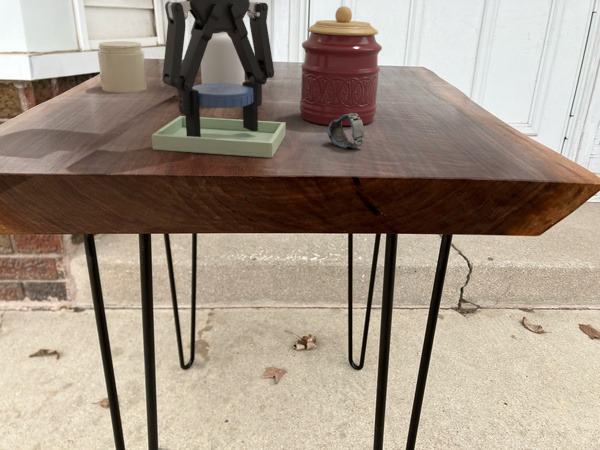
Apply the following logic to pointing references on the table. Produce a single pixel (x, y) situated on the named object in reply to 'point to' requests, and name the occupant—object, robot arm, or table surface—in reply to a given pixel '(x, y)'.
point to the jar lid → (224, 95)
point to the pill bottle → (221, 61)
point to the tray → (221, 137)
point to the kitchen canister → (340, 70)
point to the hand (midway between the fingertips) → (223, 133)
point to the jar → (122, 67)
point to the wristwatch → (339, 136)
